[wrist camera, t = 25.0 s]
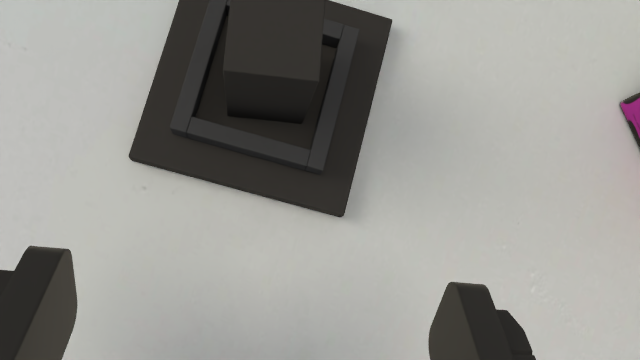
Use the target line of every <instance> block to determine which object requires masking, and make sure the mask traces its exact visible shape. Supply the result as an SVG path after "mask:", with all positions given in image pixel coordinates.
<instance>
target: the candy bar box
mask: <svg viewBox="0 0 640 360" xmlns="http://www.w3.org/2000/svg"><path fill="white" fill-rule="evenodd" d="M621 108H622V110H623V112H624V115H625V117H626V119H627V121H628V123H629V126H630V128H631V130H632V132H633V134H634V136H635V138H636V140H637V142H638V145H639V147H640V93H638V94H636V95H633V96H631V97H629V98H627V99H625V100H624V101H622V102H621Z"/></svg>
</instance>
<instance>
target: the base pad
mask: <svg viewBox="0 0 640 360" xmlns="http://www.w3.org/2000/svg"><path fill="white" fill-rule="evenodd" d="M229 9H230V0H179V3H178V6H177V9H176V12H175V15H174V18H173V21H172V25H171V28H170V31H169V34H168V37H167V40H166V43H165V46H164V49H163V52H162V55H161V58H160V61H159V64H158V68H157V71H156V74H155V77H154V80H153V83H152V86H151V89H150V92H149V95H148V98H147V101H146V104H145V107H144V110H143V114H142V117H141V120H140V123H139V126H138V129H137V132H136V135H135V138H134V141H133V144H132V147H131V150H130V153H129V158H130V159H131V160H132V161H136V162H139V163H143V164H147V165H150V166H154V167H158V168H161V169H165V170H169V171H172V172H176V173H180V174H183V175H187V176H191V177H194V178H198V179H202V180H205V181H209V182H213V183H217V184H220V185H224V186H228V187H231V188H235V189H239V190H242V191H246V192H250V193H253V194H257V195H261V196H264V197H268V198H272V199H275V200H279V201H283V202H286V203H290V204H294V205H297V206H301V207H305V208H308V209H312V210H316V211H319V212H323V213H327V214H330V215H334V216H338V217H342V216H343V215H344V213H345V209H346V205H347V201H348V197H349V193H350V189H351V185H352V181H353V177H354V173H355V169H356V165H357V161H358V157H359V153H360V149H361V145H362V141H363V137H364V132H365V128H366V124H367V120H368V116H369V112H370V108H371V104H372V100H373V96H374V92H375V88H376V84H377V80H378V76H379V72H380V68H381V64H382V60H383V56H384V52H385V48H386V44H387V40H388V36H389V32H390V28H391V24H392V19H389V18H385V17H382V16H379V15H375V14H372V13H369V12H366V11H362V10H359V9H356V8H352V7H349V6H346V5H343V4H339V3H336V2H333V1H329V0H326V1H325V13H324V26H323V39H322V51H321V64H320V76H319V82H318V85H317V87H316V90H315V92H314V95H313V97H312V100H311V102H310V105H309V107H308V110H307V112H306V115H305V117H304V120H303V122H302V124H298V123H289V122H279V121H270V120H261V119H251V118H242V117H233V116H227V107H226V97H225V86H224V76H223V64H224V55H225V46H226V37H227V27H228V18H229Z"/></svg>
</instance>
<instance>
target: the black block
mask: <svg viewBox="0 0 640 360" xmlns="http://www.w3.org/2000/svg"><path fill="white" fill-rule="evenodd" d="M325 1H326V0H230V9H229V18H228V27H227V37H226V46H225V55H224V64H223V76H224V86H225V97H226V107H227V116H233V117H242V118H251V119H261V120H270V121H279V122H289V123H298V124H302V122H303V120H304V117H305V115H306V112H307V110H308V107H309V105H310V102H311V100H312V97H313V95H314V92H315V90H316V87H317V85H318V82H319V76H320V64H321V51H322V39H323V26H324V13H325Z"/></svg>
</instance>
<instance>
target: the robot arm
mask: <svg viewBox="0 0 640 360" xmlns="http://www.w3.org/2000/svg"><path fill="white" fill-rule="evenodd" d="M76 313H77V294H76V286H75V278H74V270H73V262H72V255H71V251H70V250H69V249H61V248H49V247H37V246H30V247H28V248H27V249H26V251H25V252H24V254H23V256H22V258H21V260H20V261H19V263H18V265H17V267H16V269H15V271H7V270H0V360H62V357H63V354H64V352H65V349H66V346H67V344H68V341H69V339H70V336H71V333H72V331H73V327H74V324H75V319H76ZM429 354H430V359H431V360H536V359H535V356H534V355H532V349H531V346H530V344H529V342H528V339H527V337H526V334H525V332H524V330H523V328H522V327H521V326H520V325H519V324H518V323H517V321H516V320H515V319H514V318H513V317H512V316H511V314H510V313H509V312H508V311H507V310H496V309H495V306H494V303H493V301H492V298H491V295H490V293H489V290H488V288H487V287H486V286H485V285H482V284H470V283H458V282H450V283H449V284H448V285H447V287H446V290H445V292H444V295H443V297H442V300H441V302H440V305H439V307H438V310H437V312H436V315H435V317H434V320H433V322H432V325H431V328H430V333H429Z"/></svg>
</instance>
